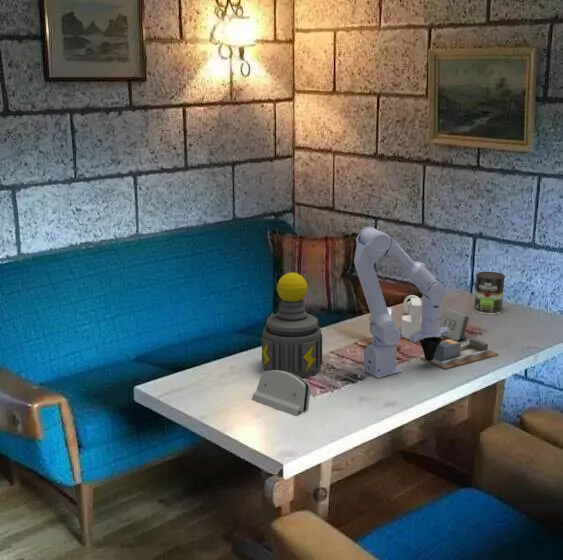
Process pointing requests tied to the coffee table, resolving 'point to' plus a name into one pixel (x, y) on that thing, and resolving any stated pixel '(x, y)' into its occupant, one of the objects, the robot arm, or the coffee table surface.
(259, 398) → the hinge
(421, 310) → the ring around a ball
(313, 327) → the grey tesla coil
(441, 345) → the block
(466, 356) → the din rail board
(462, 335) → the electrical switch
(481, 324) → the coffee table surface
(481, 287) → the coffee can
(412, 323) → the cylinder with rectangular tab
